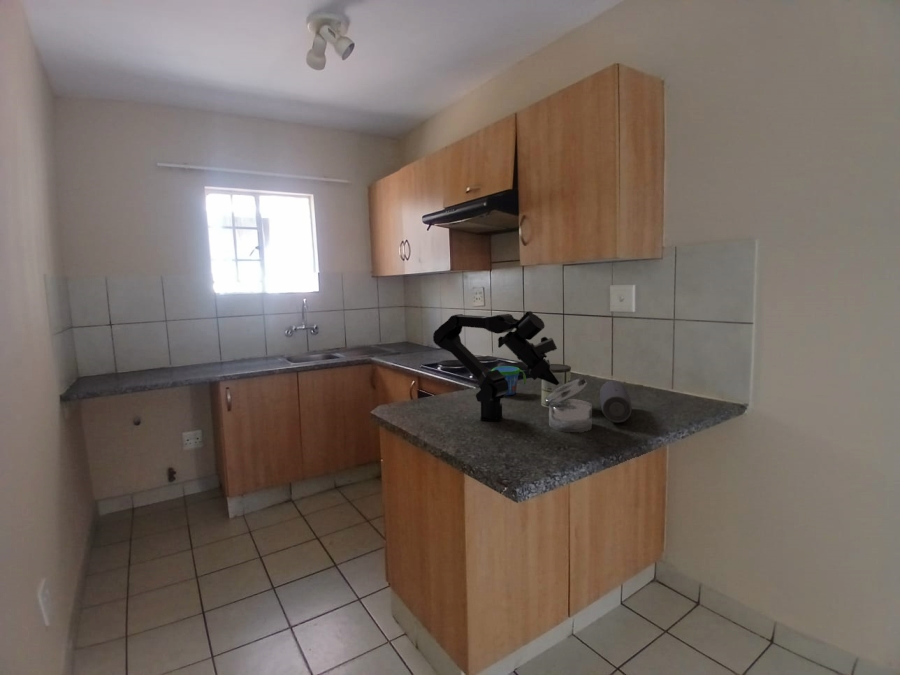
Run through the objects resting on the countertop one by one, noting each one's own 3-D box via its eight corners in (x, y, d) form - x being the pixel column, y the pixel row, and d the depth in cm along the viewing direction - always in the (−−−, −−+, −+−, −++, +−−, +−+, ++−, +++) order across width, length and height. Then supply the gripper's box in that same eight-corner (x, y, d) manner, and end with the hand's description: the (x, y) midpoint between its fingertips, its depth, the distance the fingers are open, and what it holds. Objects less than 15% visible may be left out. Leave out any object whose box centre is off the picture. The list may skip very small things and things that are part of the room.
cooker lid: (548, 409, 129) (543, 402, 129) (545, 398, 142) (541, 391, 142) (590, 387, 126) (586, 380, 126) (583, 378, 139) (580, 371, 139)
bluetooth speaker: (633, 428, 132) (634, 395, 131) (600, 425, 135) (601, 393, 134) (626, 407, 154) (627, 379, 153) (598, 405, 157) (599, 378, 155)
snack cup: (487, 397, 171) (486, 371, 169) (486, 390, 181) (485, 366, 180) (527, 396, 170) (527, 371, 169) (524, 390, 180) (524, 365, 179)
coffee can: (539, 401, 164) (539, 363, 162) (567, 401, 163) (568, 363, 161) (542, 409, 153) (542, 369, 152) (572, 409, 152) (573, 369, 151)
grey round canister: (550, 431, 130) (550, 409, 129) (547, 418, 142) (547, 398, 141) (594, 433, 128) (595, 410, 127) (588, 420, 140) (588, 399, 139)
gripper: (542, 332, 124) (582, 372, 123) (539, 326, 142) (574, 360, 141) (513, 360, 126) (552, 398, 125) (514, 350, 144) (548, 384, 144)
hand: (558, 384), depth 134 cm, fingers closed
